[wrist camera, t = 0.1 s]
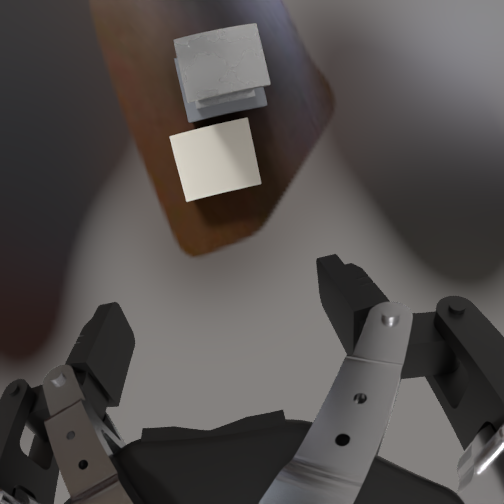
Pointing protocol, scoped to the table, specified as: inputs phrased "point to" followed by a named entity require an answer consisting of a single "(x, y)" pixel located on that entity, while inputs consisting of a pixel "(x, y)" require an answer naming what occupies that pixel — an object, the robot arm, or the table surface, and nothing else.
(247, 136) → the stand
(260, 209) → the table surface
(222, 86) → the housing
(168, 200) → the table surface
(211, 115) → the stand
